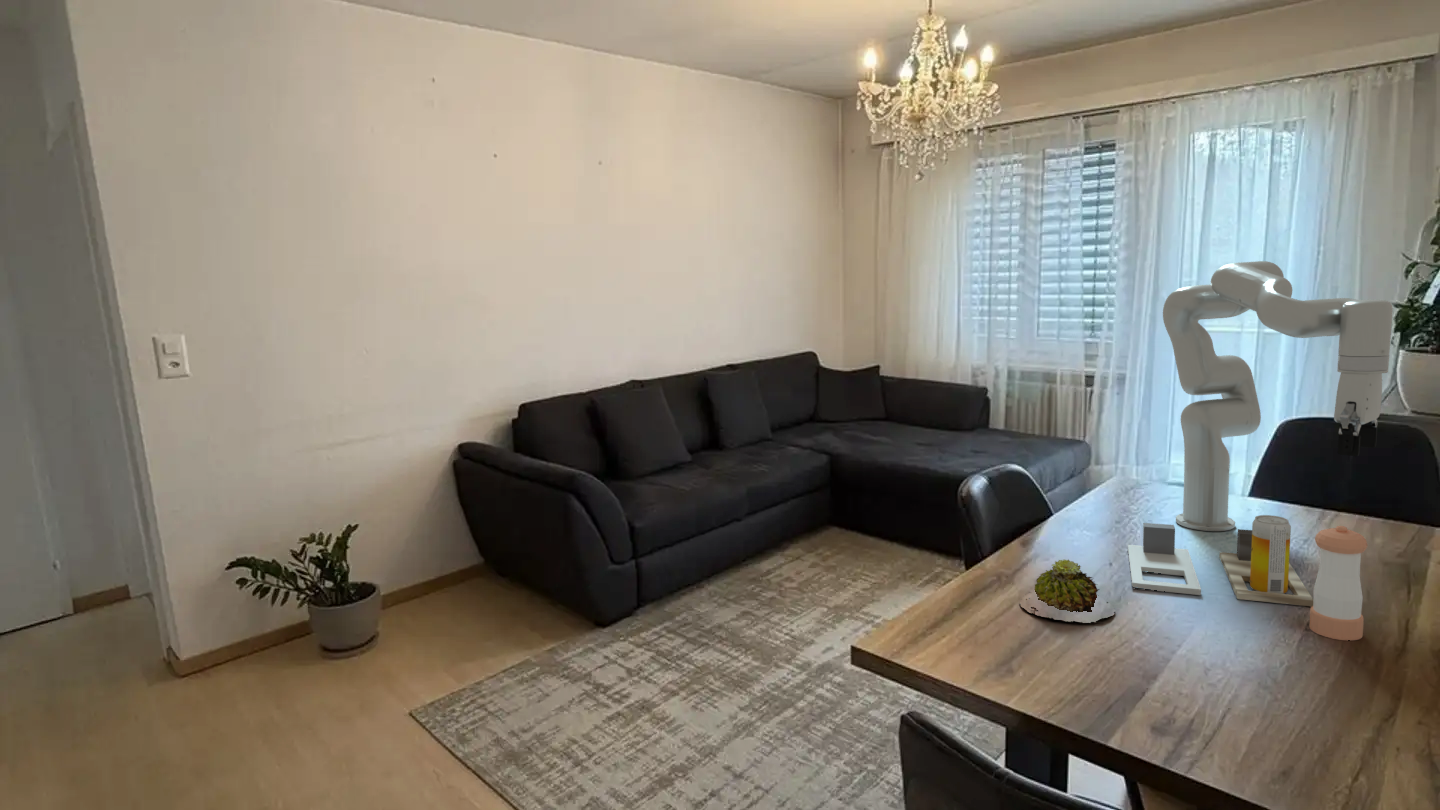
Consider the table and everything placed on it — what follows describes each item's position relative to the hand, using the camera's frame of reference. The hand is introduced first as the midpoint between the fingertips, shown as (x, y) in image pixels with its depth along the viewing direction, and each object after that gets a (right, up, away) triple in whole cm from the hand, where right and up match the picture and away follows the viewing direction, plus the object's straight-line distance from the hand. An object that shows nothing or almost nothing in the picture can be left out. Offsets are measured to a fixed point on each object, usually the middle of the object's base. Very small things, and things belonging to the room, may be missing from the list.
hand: (1356, 450), depth 148 cm
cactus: (-57, -32, 0) cm, 65 cm away
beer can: (-17, -28, +1) cm, 33 cm away
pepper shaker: (-17, -31, -16) cm, 39 cm away
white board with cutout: (-30, -27, +15) cm, 43 cm away
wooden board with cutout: (-14, -27, +7) cm, 31 cm away
